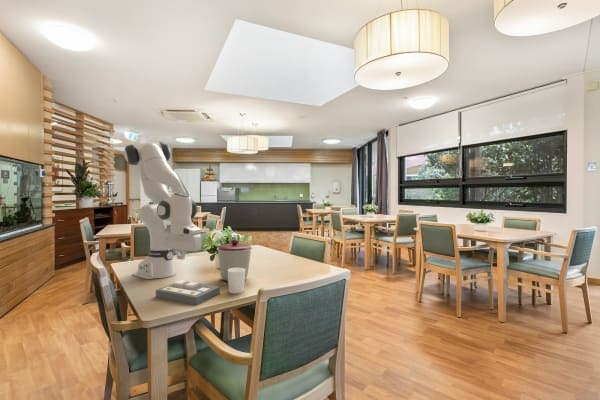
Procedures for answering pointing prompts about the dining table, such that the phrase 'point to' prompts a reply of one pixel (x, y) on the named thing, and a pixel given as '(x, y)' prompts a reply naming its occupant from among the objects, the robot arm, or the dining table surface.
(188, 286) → the middle button
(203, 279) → the dining table surface
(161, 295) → the button panel
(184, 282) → the button
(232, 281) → the white cup
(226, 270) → the canister
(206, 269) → the dining table surface
